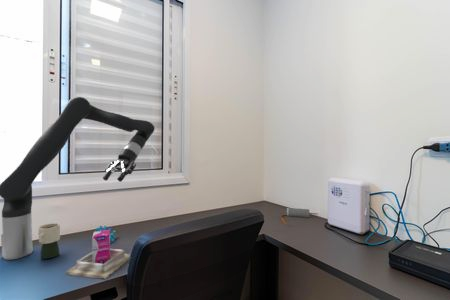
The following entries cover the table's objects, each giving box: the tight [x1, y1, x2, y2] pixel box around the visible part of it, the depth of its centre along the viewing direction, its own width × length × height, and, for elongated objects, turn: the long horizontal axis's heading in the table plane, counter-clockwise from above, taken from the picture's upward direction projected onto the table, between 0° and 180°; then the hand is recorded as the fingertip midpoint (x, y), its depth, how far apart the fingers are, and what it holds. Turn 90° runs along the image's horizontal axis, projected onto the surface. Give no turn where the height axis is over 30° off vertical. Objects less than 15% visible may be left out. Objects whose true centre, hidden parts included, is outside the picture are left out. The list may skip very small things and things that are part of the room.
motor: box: [280, 207, 319, 226], centre depth 139 cm, size 23×22×5 cm
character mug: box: [37, 222, 61, 259], centre depth 96 cm, size 11×7×13 cm, turn 2°
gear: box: [94, 225, 116, 245], centre depth 110 cm, size 11×6×10 cm
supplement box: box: [91, 229, 111, 264], centre depth 89 cm, size 6×6×12 cm
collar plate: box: [65, 248, 131, 280], centre depth 89 cm, size 16×16×4 cm
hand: (111, 180), depth 103 cm, fingers open, 8 cm apart
